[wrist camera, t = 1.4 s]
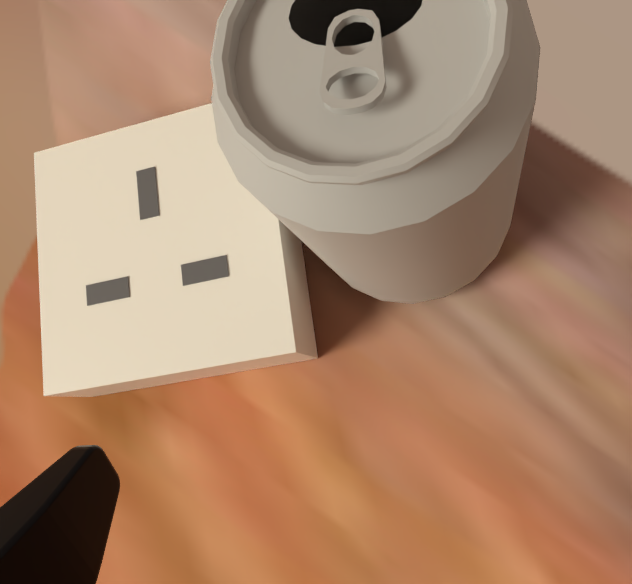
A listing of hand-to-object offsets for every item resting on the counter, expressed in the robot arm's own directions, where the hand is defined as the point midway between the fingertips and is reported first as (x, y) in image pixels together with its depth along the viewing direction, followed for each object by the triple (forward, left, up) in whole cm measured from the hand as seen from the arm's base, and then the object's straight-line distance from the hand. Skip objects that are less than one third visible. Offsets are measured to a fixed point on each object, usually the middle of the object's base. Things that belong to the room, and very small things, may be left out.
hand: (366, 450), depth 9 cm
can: (+8, -1, -13) cm, 16 cm away
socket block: (+8, +9, -13) cm, 18 cm away
